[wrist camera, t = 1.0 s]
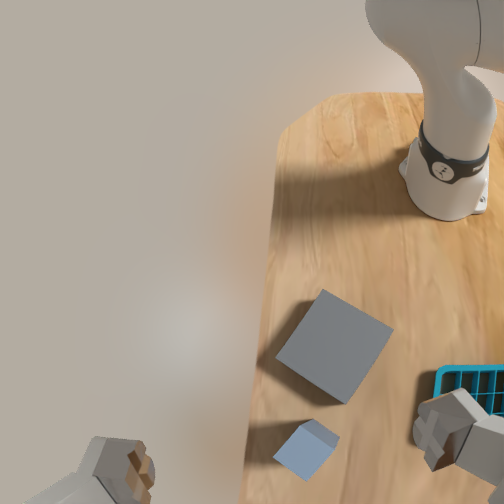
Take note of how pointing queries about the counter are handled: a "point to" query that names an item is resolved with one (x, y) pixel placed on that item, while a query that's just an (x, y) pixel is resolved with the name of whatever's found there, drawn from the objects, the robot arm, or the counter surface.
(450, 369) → the ice cube tray
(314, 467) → the slate-blue block
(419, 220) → the counter surface
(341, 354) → the charcoal block
